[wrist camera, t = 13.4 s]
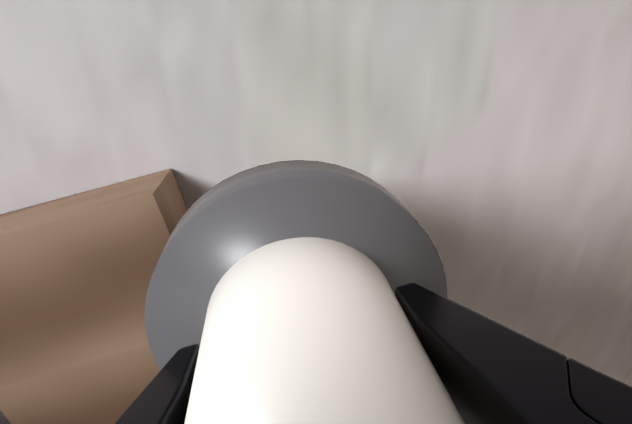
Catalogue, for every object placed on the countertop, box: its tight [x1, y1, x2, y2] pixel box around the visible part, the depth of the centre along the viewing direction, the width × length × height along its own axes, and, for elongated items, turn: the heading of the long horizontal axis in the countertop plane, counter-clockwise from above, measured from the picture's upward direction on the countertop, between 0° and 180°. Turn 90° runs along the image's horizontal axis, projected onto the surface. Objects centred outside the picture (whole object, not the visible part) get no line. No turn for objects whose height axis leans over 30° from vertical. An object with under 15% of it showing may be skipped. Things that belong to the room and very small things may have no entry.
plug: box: [144, 160, 465, 424], centre depth 9 cm, size 6×6×9 cm
